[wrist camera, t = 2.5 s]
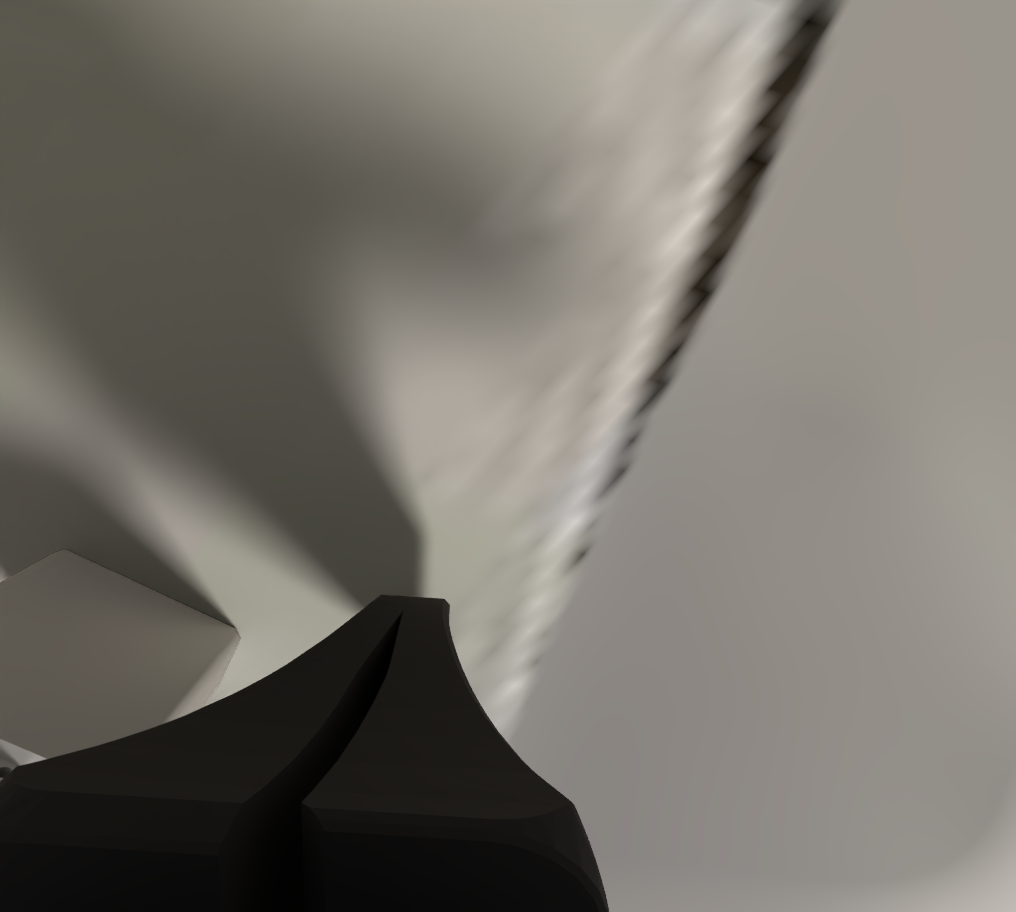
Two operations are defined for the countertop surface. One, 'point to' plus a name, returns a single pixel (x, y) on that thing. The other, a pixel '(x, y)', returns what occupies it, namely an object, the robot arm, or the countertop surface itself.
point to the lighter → (97, 659)
